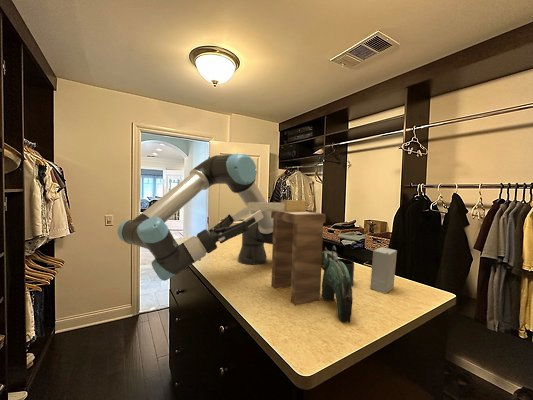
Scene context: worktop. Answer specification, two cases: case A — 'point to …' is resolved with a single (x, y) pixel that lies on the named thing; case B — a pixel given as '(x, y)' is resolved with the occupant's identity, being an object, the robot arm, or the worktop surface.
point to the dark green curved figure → (337, 284)
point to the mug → (349, 267)
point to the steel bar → (278, 206)
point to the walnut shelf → (298, 254)
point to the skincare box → (383, 269)
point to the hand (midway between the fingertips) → (254, 211)
